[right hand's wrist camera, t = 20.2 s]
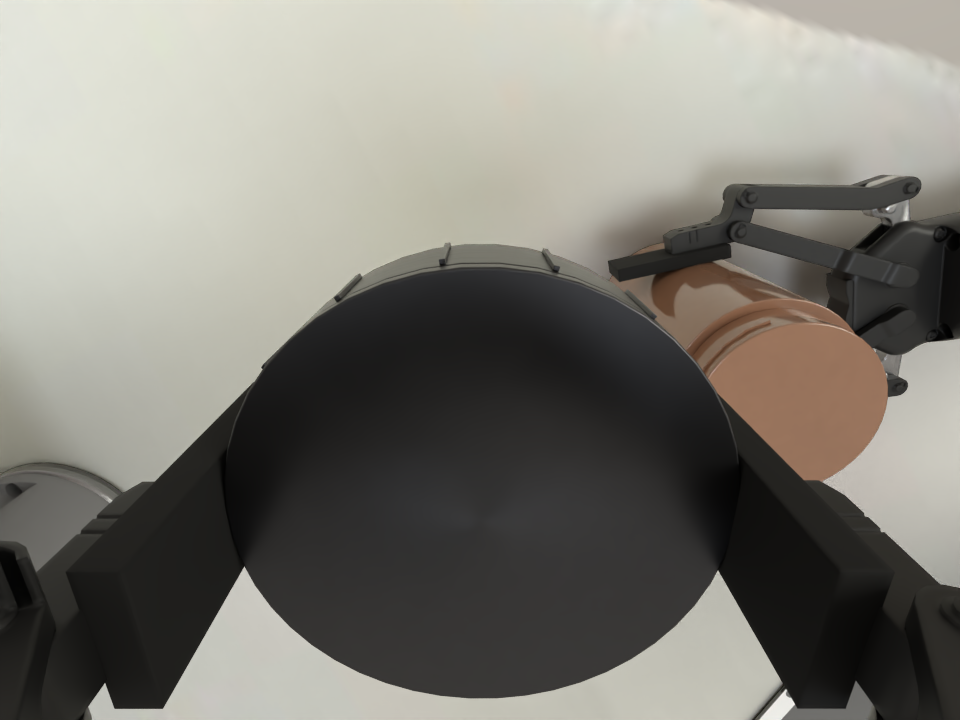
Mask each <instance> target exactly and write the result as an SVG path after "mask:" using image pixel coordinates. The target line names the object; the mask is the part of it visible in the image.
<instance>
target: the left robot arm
mask: <svg viewBox="0 0 960 720" xmlns="http://www.w3.org/2000/svg"><path fill="white" fill-rule="evenodd" d="M920 189H921V181H920V180H919V179H918V178H916V177H910V176H892V175H880V176H876V177H874V178H871V179H868V180H865V181H862V182H859V183H856V184H853V185H782V184H732V185H729V186H728V187H726V189H725V190H724V192H723V200H724V204H723V208H722V211H721V213H720V215H718V216H715V217H714V218H713V219H712V220H711V221H710V222H705V223H701V224H697V225H692V226H688V227H684V228H679V229H675V230H671V231H669V232H668V233H666V234H665V235H663V238H664V247H665V248H664V249H659V250H655V251H650V252H646V253H642V254H637V255H633V256H628V257H624V258H619V259H615V260H611V261H608V264H609V271H610V273H611V274H612V275H613V276H614V277H615V278H616V279H617V280H618V281H619V282H622V281H627V280H631V279H636V278H640V277H645V276H650V275H654V274H659V273H663V272H668V271H672V270H677V269H681V268H686V267H690V266H695V265H699V264H704V263H708V262H713V261H717V260H722V259H726V258H731V245H730V244H727V243H731V242H737V243H741V244H744V245H748V246H752V247H755V248H759V249H763V250H766V251H770V252H774V253H777V254H781V255H785V256H788V257H792V258H796V259H799V260H803V261H807V262H810V263H814V264H818V265H821V266H825V267H829V268H833V269H832V271H831V273H828V274H827V281H826V285H827V289H828V292H829V295H830V298H829V301H828V305H827V308H828V309H830V310H831V311H833V312H834V313H836V314H837V315H839V316H840V317H841V318H842V319H843V320H844V321H845V322H846V323H847V324H848V325H849V326H850V327H851V329H852V330H853V331H854V333H855V334H856V335H857V336H859V337H860V338H862V339H863V340H864V341H865V342H866V343H868V344H869V345H870V346H871V347H872V348H875V349H877V350H876V354H877V355H878V357H879V359H880V361H881V363H882V365H883V367H884V370H885V373H886V377H887V384H888V397H891V396H898V395H901V394H903V393H904V392H905V391H906V390H907V387H908V383H907V381H906V380H904V379H902V378H900V377H898V373H899V368H900V362H901V356H902V354H905V353H907V352H909V351H911V350H912V349H914V348H915V347H917V346H919V345H921V344H923V343H926V342H933V341H946V340H954V339H960V212H957V213H953V214H948V215H944V216H939V217H935V218H930V219H925V220H921V221H918V222H916V221H912V220H910V203H909V199H911V198H913V197H915V196H916V195H917V194H918V193H919V191H920ZM754 209H809V210H862V212H863V214H865V215H866V216H871V217H877V218H880V219H881V221H882V223H880V224H879V225H878V226H877V227H875V228H874V229H873V230H872V231H871V232H870V233H869V234H868V235H866V236H865V237H864V238H863V239H862V240H861V241H860V242H859V243H857V244H856V245H855V246H854V247H853V248H852V249H851V250H846V249H843V248H839V247H835V246H832V245H828V244H824V243H821V242H817V241H814V240H810V239H806V238H803V237H799V236H795V235H792V234H788V233H784V232H781V231H777V230H774V229H770V228H766V227H763V226H759V225H755V224H752V223H750V221H751V218H752V215H753V211H754Z"/></svg>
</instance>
